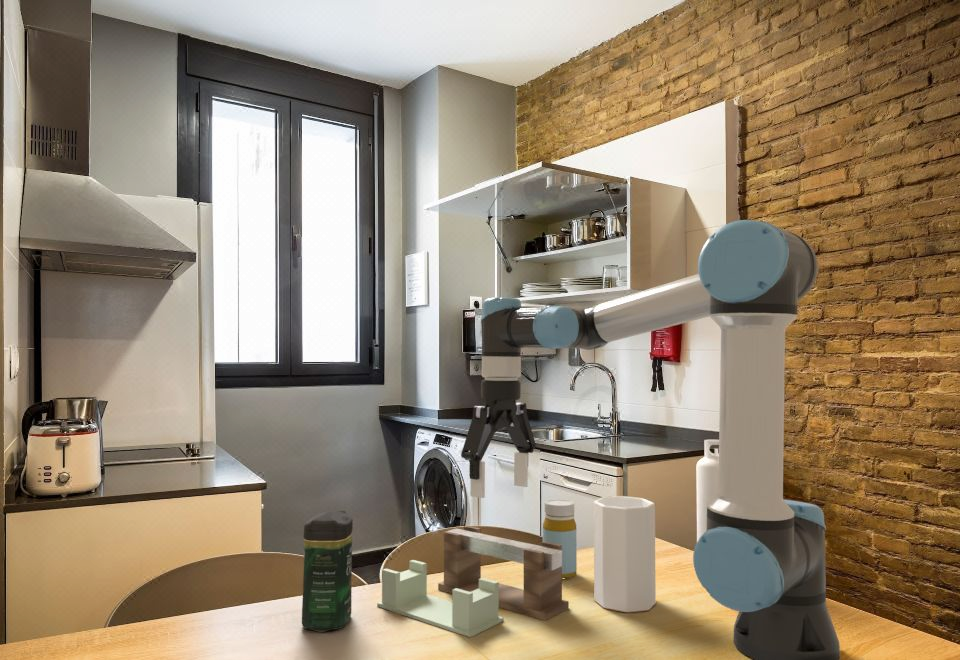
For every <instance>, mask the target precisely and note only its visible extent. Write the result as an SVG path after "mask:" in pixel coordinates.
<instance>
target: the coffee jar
mask: <svg viewBox="0 0 960 660" xmlns="http://www.w3.org/2000/svg"><path fill="white" fill-rule="evenodd" d="M353 521H354V520H353V517H352V516H351V515H350V514H349V513H347V511H345V510H329V509H327V510H322V512H320V513H317V514H316V515H313V516H312V517H310V518H309V519H308V520H307V521H306V522H305V523H304V526H303V576H302V577H303V578H302V579H303V581H302V606H301V607H302V608H301V625H302V627H303V629H307V630H311V631H314V632H322V633H323V632H328V631H331V630H337V629H338V630H339V629H342V628H344V626H345V625H346V624H347V623H348V622H349V620H350V618H351V616H352V575H353V574H352V571H353V570H352V569H353V563H352V562H353V559H352V558H353V533H354V532H353V530H354V528H353V524H354V523H353Z"/></svg>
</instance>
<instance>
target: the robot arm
mask: <svg viewBox="0 0 960 660" xmlns="http://www.w3.org/2000/svg"><path fill="white" fill-rule="evenodd" d="M811 246H812V245H810V243H808V242H807V241H806V240H805V239H804V238H803V237H802V236H800V235H798V234H796V233H793V232H791V231H787V230H783V229H782V228H779V227H778V226H777V225H773V223H770V222H766V221H764V220H763V221H762V220H753V219H742V220H741V219H740V220H735V221H731V222H729V223H726V224H725V225H723V226H721V227H720V228H719V229H718V228H717V230H716V231H715V232H714V233H712V235H711V236H710V237H708V239H707V240H706V241H705V243H704V244H703V247H702V248H701V251H700V253H699V257H698V261H697V262H698V263H697V270H698V271H697V272H698V273H695V274H694V275H690V276H687V277H684V278H680V279H677V280H674V281H671V282H670V281H669V282H668V283H665V284H660V285H657V286H654V287H651V288H647V289H645V290H642V291H638V292H635V293H631V294H629V295H625V296H622V297H618V298H615V299H612V300H609V301H605V302H602V303H599V304H596V305H593V306H589V307H586V308H582V309H572V308H570V307H568V306H566V305H565V306H564V305H563V306H562V305H547V306H535V307H534V306H533V307H522V302H521V300H520V299H519V298H516V297H490V298H486V299H484V301H483V303H482V309H481V319H480V324H481V325H480V326H481V376H482V378H484V379H483V380H481V383H480V386H481V387H480V388H481V389H480V397H481V399H482V400H484V402H485V404H484V405H474V406H473V407H472V419H471V421H470V424H469V427H468V428H469V429H468V432H467V434H466V438H465V441H464V444H463V447H462V450H461V453H460V456H461V458H462V459H464V460H465V461H469V467H468V468H469V479H470V495H469V496H470V497H473V498H478V499H479V498H480V499H484V498H485V492H486V491H485V490H486V489H485V487H486V482H485V481H486V478H485V477H486V461H485V460H483V458H484V456H485V454H486V451H487V450H488V447H489V445H490V443H491V441H492V439H493V437H494V435H495V433H497V432H498V431H499V430H502V429H505V430H506V431H507V434H508V435H509V437H510V439H511V441H512V443H513V445H514V447H515V448H516V450H517V451H515V452H514V456H513V457H514V461H513V462H514V463H513V465H514V467H513V469H514V470H513V471H514V472H513V473H514V476H513V477H514V478H513V479H514V481H513V482H514V483H513V486H517V487H523V488H528V487H529V486H528V484H529V483H528V482H529V481H528V479H529V478H528V477H529V473H528V471H529V469H528V468H529V454H530V453H531V454H533V452H534V451H535V450H534V449H535V448H536V441H535V437H534V435H533V434H534V433H533V431H532V427H531V424H530V419H529V417H528V413H527V404H526V402H517V401H519V400H520V399H521V397H522V396H521V393H522V391H521V389H522V388H521V383H522V382H521V381H520V380H519V378H521V377H522V363H521V362H522V356H521V355H522V354H521V353H522V349H524V348H525V349H549V350H552V349H553V350H554V349H555V350H557V349H573V350H575V349H578V350H580V349H581V350H588V351H590V350H595V349H601V348H603V347H606V345H607V344H608V343H612V342H615V341H619V340H623V339H627V338H630V337H634V336H638V335H643V334H645V333H650V332H654V331H659V330H662V329H666V328H669V327H673V326H678V325H682V324H686V323H689V322H692V321H693V322H694V321H697V320H701V319H704V318H711V319H712V320H713V321H714V323H716V325H718V327H719V328H720V329H719V330H720V361H719V362H720V363H719V364H720V365H719V366H720V367H719V369H720V373H719V422H718V423H719V425H718V426H719V430H718V431H719V432H718V433H719V434H718V440H719V445H718V453H719V477H718V494H717V495H716V496H715V497H714V498H713V499H711V500H710V501H709V502H708V504H707V531H706V532H705V533H704V534H703V535H702V536H701V537H700V538H699V540H698V542H697V541H696V544H695V546H694V550H693V557H692V558H693V559H692V561H693V568H694V572H695V574H696V578H697V580H698V582H699V583H700V584H701V586H702V587H703V589H705V590H706V592H707V593H708V594H709V596H710V597H711V598H712V599H713V600H714V601H716V602H717V603H719V604H720V605H721V606H723V607H726V608H727V609H730V610H732V611H735V612H737V615H736V619H735V622H734V625H733V630H732V631H733V644H734V647H736V649H737V650H738V651H739V652H740V653H742V654H744V655H746V657H749V658H751V659H753V660H840V659H841V658H840V657H841V651H840V650H841V649H840V641H839V638H838V635H837V632H836V629H835V627H834V626H835V625H834V624H833V621H832V618H831V614H830V612H829V609H828V607H827V595H826V594H827V592H826V591H827V588H826V584H827V581H826V578H827V577H826V531H827V526H826V524H825V514H824V511H823V509H822V508H821V507H819V506H818V505H816V504H814V503H813V504H812V503H809V502H804V501H803V502H802V501H798V500H792V499H791V500H790V499H784V447H785V446H784V442H785V439H784V436H785V430H784V429H785V428H784V427H785V376H786V375H785V373H786V372H785V370H786V369H785V368H786V367H785V365H786V363H785V361H786V357H785V356H786V355H785V354H786V330H787V328H788V326H789V325H791V324H792V323H793V322H794V321H795V320H796V319H797V318H798V301H800V300H801V299H803V298H804V297H805V296H806V295H808V293H809V292H810V291H811V290H812V288H813V287H814V285H815V283H816V280H817V277H818V272H819V265H818V259H817V255H816V252H815V251H814V249H813V247H811Z"/></svg>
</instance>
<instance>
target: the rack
mask: <svg viewBox="0 0 960 660" xmlns="http://www.w3.org/2000/svg"><path fill="white" fill-rule="evenodd" d="M463 530H466V531H471V532H476V533H481V534H482V528H481V527H476V526H470V525H465V526H463ZM448 531H449V530H447V532H446V531H444V532H443V581H441V582H438V583H437V587H438V588H437V589H438V590H439V591H441V592H442V591H443V592H446V593H448V594H452V590H453V589H455V588H458V589H461V590H465V591H468V592H471V591H474V590H476V589H479V579H480V578H482V568H481V566H482V565H481V563H482V556H481V555H482V554H479V553H475V552H470V551H466V550H462V549H461V534H457V533H453V532H448ZM541 543H542V544H541V546H543V547H548V548H553V549H557V550H562V545H560V544H556V543H551V542H546V541H545V542H543V541H542V542H541ZM569 605H570V604H569V600H565V599H563V579H562V566H561V567H559V568H557V569H555V570H548V569H544V552H541V551H537V550H532V549H524V564H523V588H519V587H515V586H512V585H508V584H504V583H500V582H499V608H501V609H505V610H508V611H511V612H515V613H518V614H522V615H525V616H529V617H531V618H535V619H538V620H543V621H547V620H549V619H551V618H553V617H554V616H556V615H559V614H560V613H562V612H564V611H566V610H568V609H569V608H570V607H569Z"/></svg>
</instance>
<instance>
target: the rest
mask: <svg viewBox="0 0 960 660" xmlns="http://www.w3.org/2000/svg"><path fill="white" fill-rule="evenodd" d="M408 561H409V562H408V563H409V565H408V569H407V570H404V571H396V570H393V569H390V568H383V569H381V570H382V571H381V573H382V575H381V578H382V579H381V592H382V593H381V601H379V602H377V603H376V604H377V605H376V606H377V607H378V608H381V609H385V610H387V611H390V612H393V613H396V614H399V615H402V616H405V617H409V618H411V619H414V620H417V621H420V622H423V623H425V624H429V625H432V626H434V627H438V628H441V629H444V630H447V631H450V632H453V633H456V634H458V635H462V636H465V637H468V638H472V637H474V636H476V635H478V634H480V633H482V632H485V631H486V630H488V629H491V628H493V627H494V626H497V625H498V624H500V623H503V622H504V617H503V616H500V615H499V608H500V607H499V583H500V582H499V581H497V580H492V579H489V578H485V577H481V578H480V579H479V589H476V590H474V591H471V592H468V591H465V590H461V589H458V588H455V589H453V590H452V593H451V594H452V597H451V598H452V599H451V600H447V599H443V598H441V597H436V596H434V595H429V594H427V593H428V590H427V589H428V588H427V587H428V585H427V583H428V582H427V580H428V578H427V577H428V576H427V575H428V569H427V568H428V563H426V562H424V561H419V560H415V559H411V560H408Z"/></svg>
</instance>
